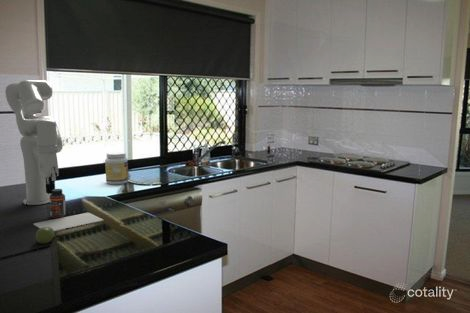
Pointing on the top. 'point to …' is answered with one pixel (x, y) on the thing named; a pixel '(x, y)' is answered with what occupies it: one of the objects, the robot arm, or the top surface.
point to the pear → (45, 235)
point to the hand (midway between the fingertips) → (50, 192)
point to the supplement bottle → (57, 204)
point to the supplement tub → (116, 168)
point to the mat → (69, 221)
